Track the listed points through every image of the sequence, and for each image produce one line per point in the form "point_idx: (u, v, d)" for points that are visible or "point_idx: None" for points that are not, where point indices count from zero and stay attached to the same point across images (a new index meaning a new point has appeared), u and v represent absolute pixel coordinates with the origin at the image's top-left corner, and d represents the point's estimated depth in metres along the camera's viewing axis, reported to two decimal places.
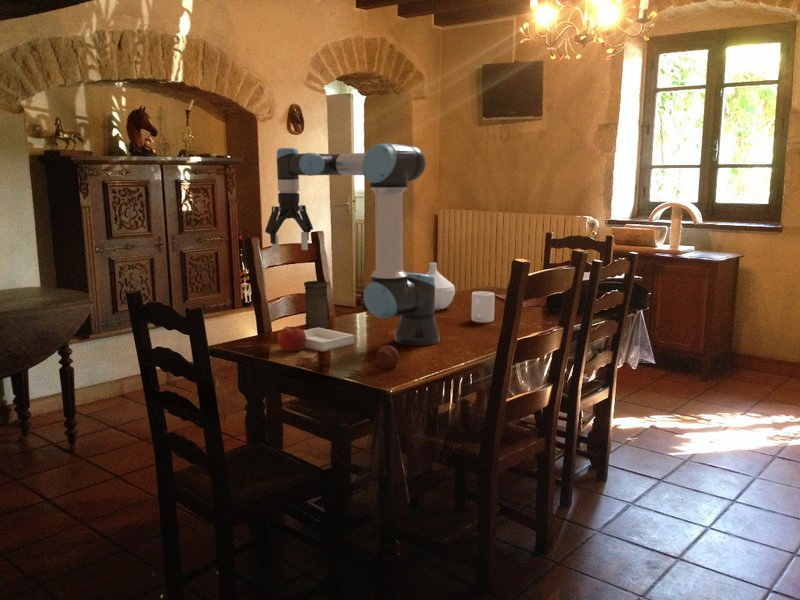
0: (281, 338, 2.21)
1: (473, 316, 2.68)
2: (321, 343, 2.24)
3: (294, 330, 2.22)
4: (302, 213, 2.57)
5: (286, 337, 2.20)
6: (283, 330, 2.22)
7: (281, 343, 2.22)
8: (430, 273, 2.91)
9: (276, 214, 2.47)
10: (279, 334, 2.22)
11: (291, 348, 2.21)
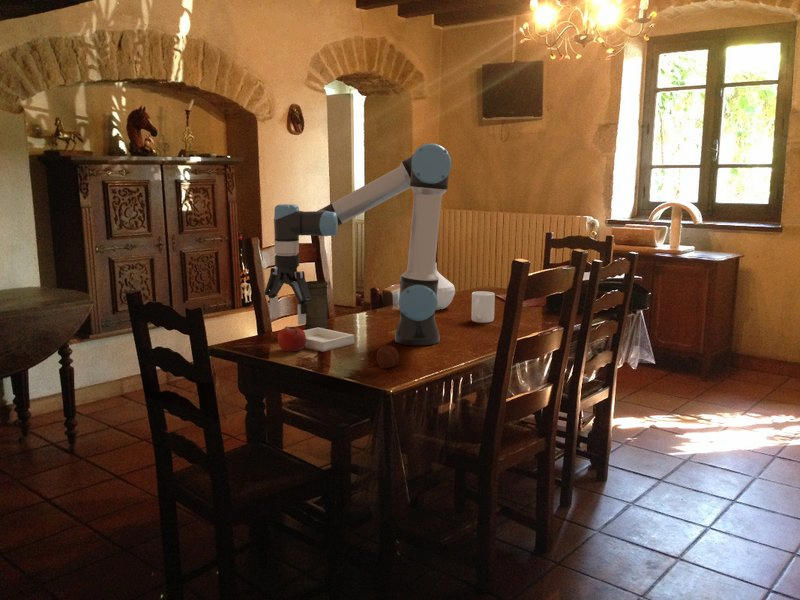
0: (281, 338, 2.21)
1: (473, 316, 2.68)
2: (321, 343, 2.24)
3: (294, 330, 2.22)
4: None
5: (286, 337, 2.20)
6: (283, 330, 2.22)
7: (281, 343, 2.22)
8: None
9: (270, 276, 2.25)
10: (279, 334, 2.22)
11: (291, 348, 2.21)
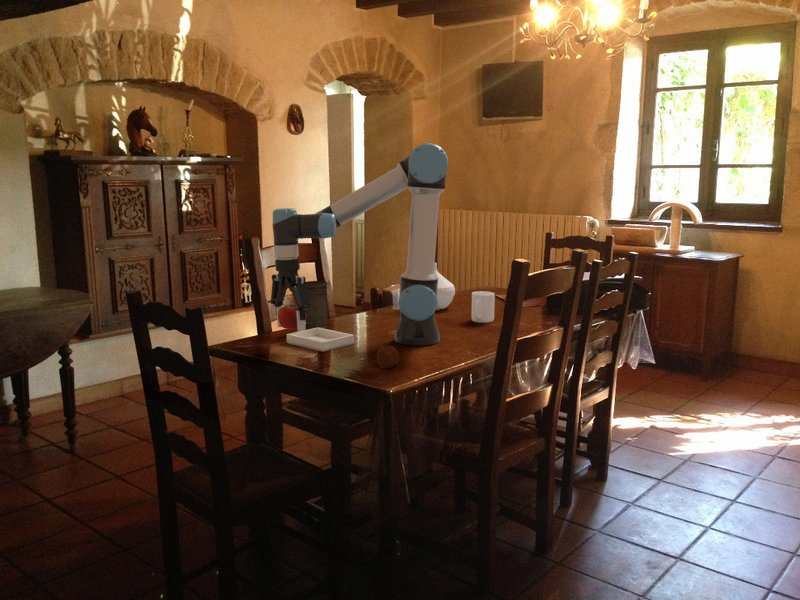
0: (281, 316, 2.20)
1: (473, 316, 2.68)
2: (321, 343, 2.24)
3: (294, 307, 2.21)
4: None
5: (286, 315, 2.19)
6: (283, 308, 2.22)
7: (281, 321, 2.21)
8: None
9: (273, 283, 2.25)
10: (279, 312, 2.22)
11: (292, 325, 2.20)
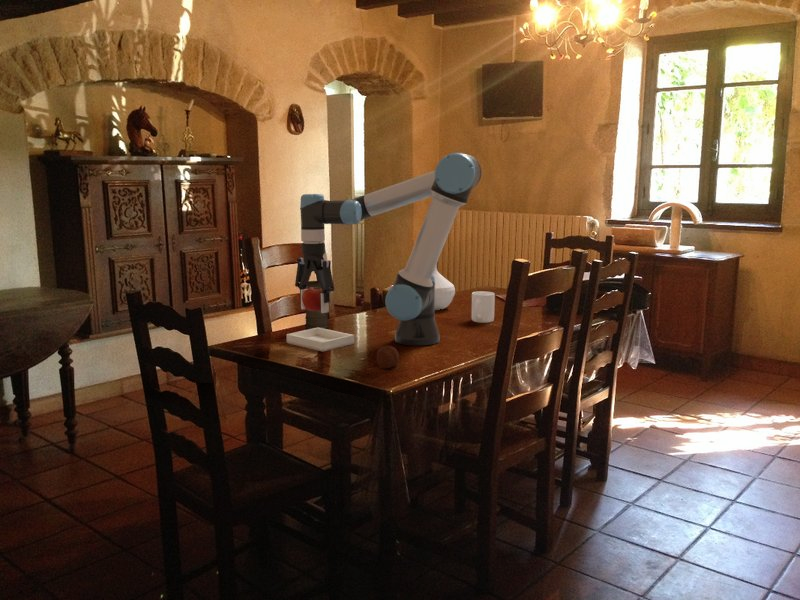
0: (306, 298, 2.28)
1: (473, 316, 2.68)
2: (321, 343, 2.24)
3: (318, 290, 2.28)
4: None
5: (311, 297, 2.27)
6: (307, 290, 2.29)
7: (306, 303, 2.28)
8: None
9: (298, 266, 2.32)
10: (304, 294, 2.29)
11: (315, 307, 2.27)
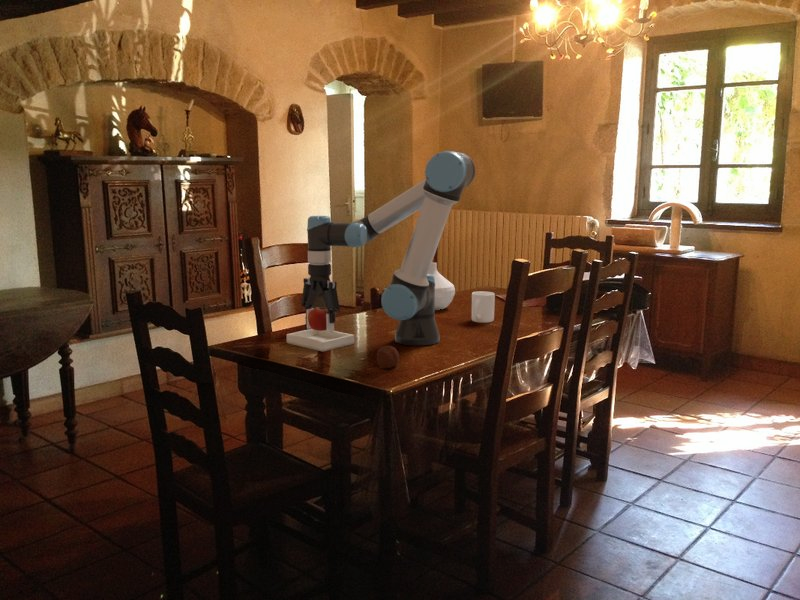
0: (312, 318, 2.31)
1: (473, 316, 2.68)
2: (321, 343, 2.24)
3: (324, 310, 2.32)
4: None
5: (317, 317, 2.30)
6: (313, 310, 2.32)
7: (311, 323, 2.31)
8: (430, 273, 2.91)
9: (304, 286, 2.35)
10: (310, 314, 2.32)
11: (321, 327, 2.30)
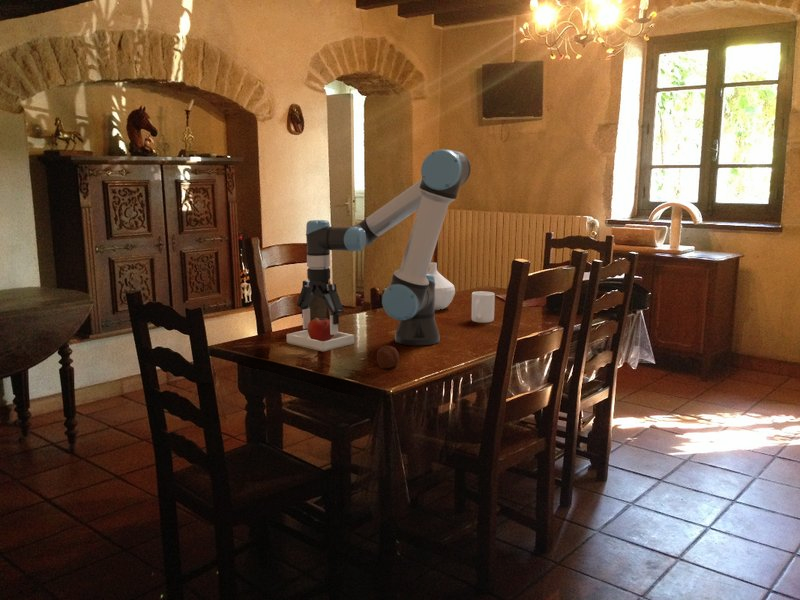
0: (311, 329, 2.31)
1: (473, 316, 2.68)
2: (321, 343, 2.24)
3: (323, 321, 2.32)
4: None
5: (316, 328, 2.30)
6: (313, 321, 2.32)
7: (311, 334, 2.32)
8: (430, 273, 2.91)
9: (303, 288, 2.35)
10: (309, 325, 2.32)
11: (321, 338, 2.31)
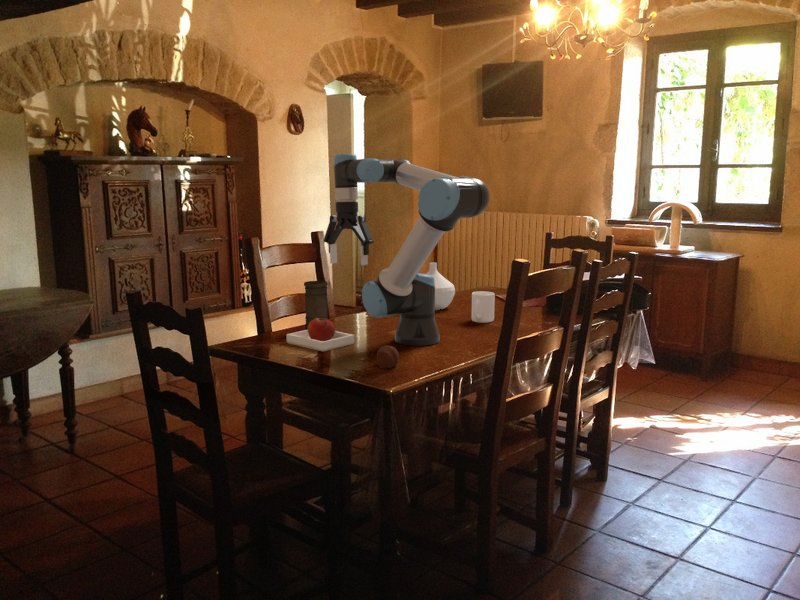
0: (311, 329, 2.31)
1: (473, 316, 2.68)
2: (321, 343, 2.24)
3: (324, 321, 2.32)
4: None
5: (316, 328, 2.30)
6: (313, 321, 2.32)
7: (311, 334, 2.32)
8: (430, 273, 2.91)
9: (330, 223, 2.40)
10: (309, 325, 2.32)
11: (321, 338, 2.31)
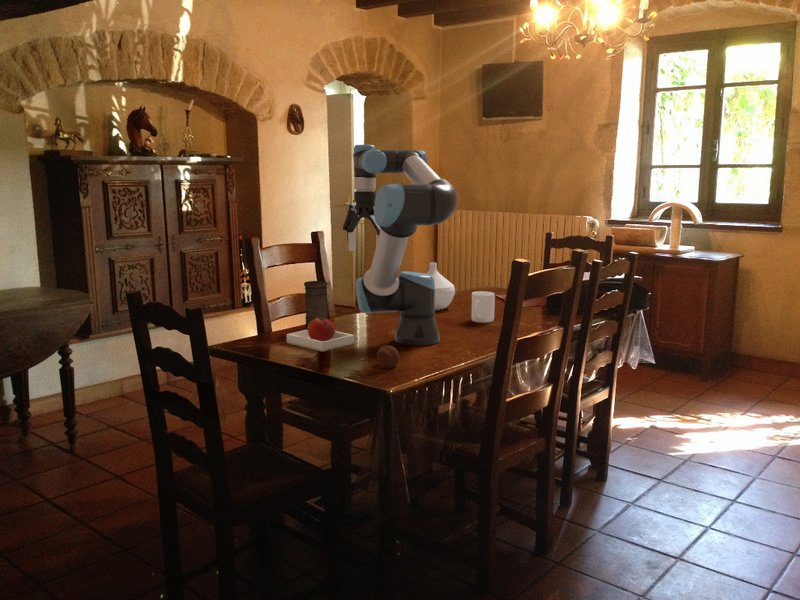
0: (311, 329, 2.31)
1: (473, 316, 2.68)
2: (321, 343, 2.24)
3: (324, 321, 2.32)
4: None
5: (316, 328, 2.30)
6: (313, 321, 2.32)
7: (311, 334, 2.32)
8: (430, 273, 2.91)
9: (349, 212, 2.47)
10: (309, 325, 2.32)
11: (321, 338, 2.31)
